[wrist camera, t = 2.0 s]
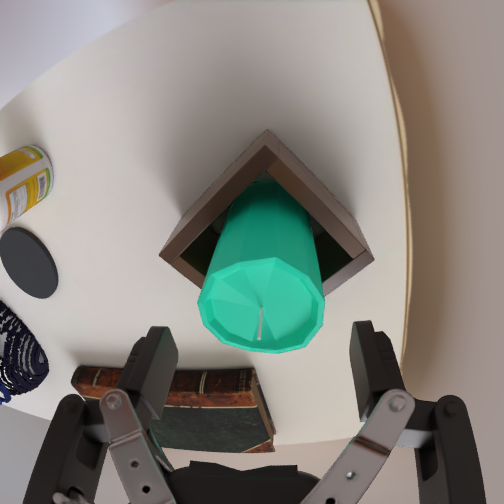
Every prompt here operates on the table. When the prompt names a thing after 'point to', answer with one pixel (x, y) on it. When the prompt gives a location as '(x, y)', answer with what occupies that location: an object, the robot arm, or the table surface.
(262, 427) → the book
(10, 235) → the coaster
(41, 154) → the supplement bottle
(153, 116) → the table surface
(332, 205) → the square wooden box
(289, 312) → the candle
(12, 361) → the decorative bowl
